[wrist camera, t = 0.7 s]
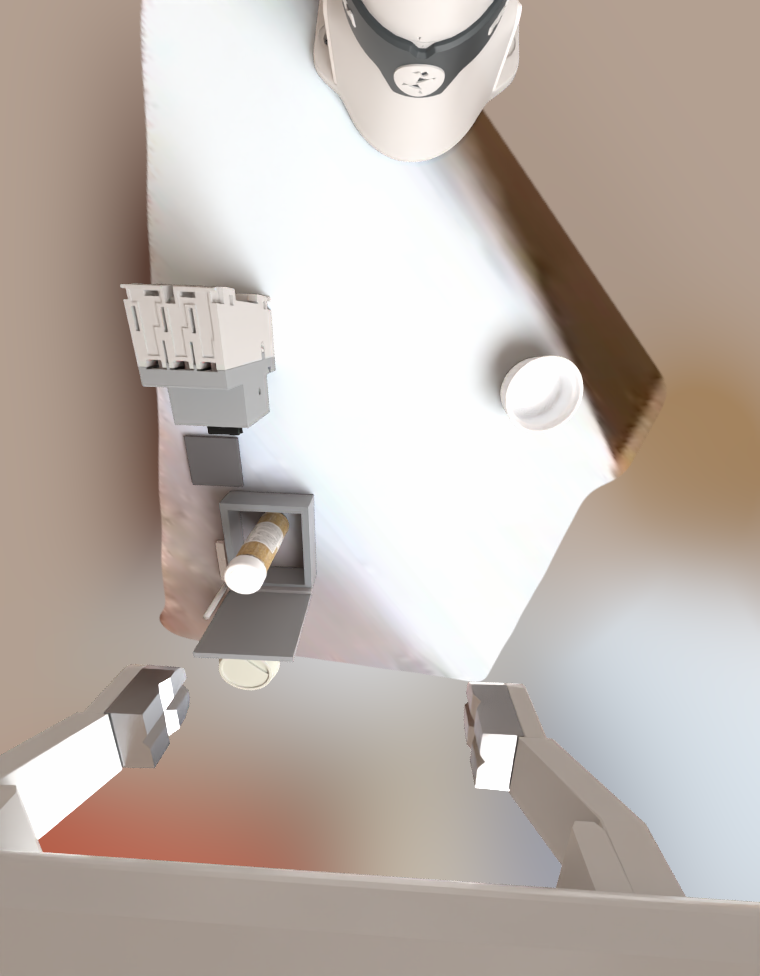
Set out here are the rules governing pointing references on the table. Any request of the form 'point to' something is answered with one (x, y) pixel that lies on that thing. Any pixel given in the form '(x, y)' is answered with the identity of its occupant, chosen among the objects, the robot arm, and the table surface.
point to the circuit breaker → (204, 351)
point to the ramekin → (541, 393)
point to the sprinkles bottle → (256, 554)
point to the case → (262, 588)
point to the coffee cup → (248, 672)
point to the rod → (221, 557)
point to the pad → (214, 460)
